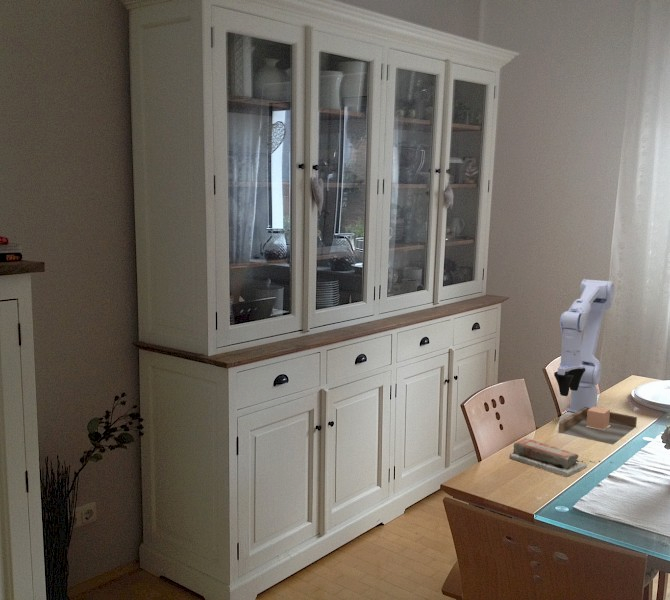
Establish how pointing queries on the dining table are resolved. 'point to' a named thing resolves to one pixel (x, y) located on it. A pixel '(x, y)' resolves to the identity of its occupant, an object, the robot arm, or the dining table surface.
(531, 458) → the packaged product
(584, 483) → the dining table surface
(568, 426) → the tray
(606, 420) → the cube
